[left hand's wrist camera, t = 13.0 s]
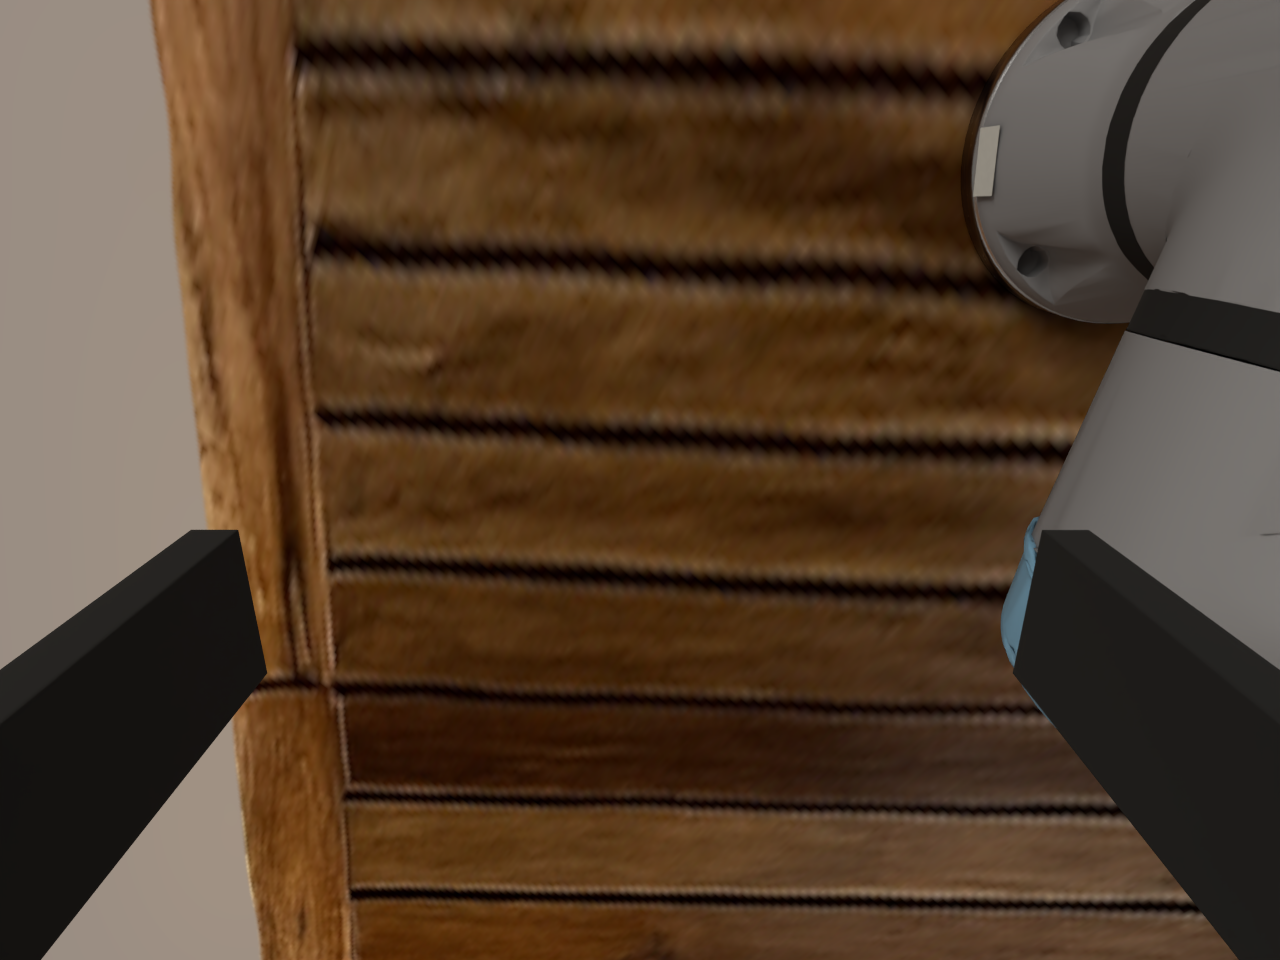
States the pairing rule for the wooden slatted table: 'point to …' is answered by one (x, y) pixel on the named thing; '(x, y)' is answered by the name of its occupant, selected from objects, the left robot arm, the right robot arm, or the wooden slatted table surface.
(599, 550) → the wooden slatted table surface
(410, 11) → the wooden slatted table surface
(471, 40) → the wooden slatted table surface
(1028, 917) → the wooden slatted table surface
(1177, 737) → the left robot arm
